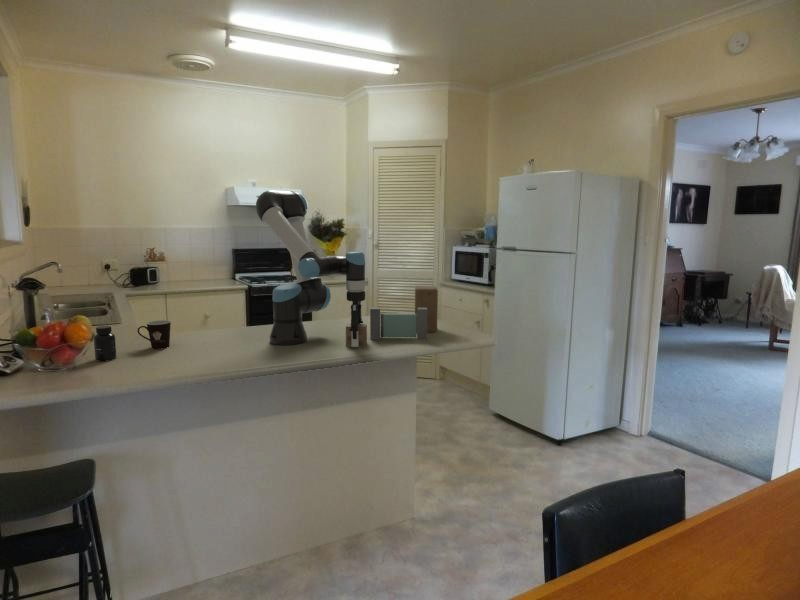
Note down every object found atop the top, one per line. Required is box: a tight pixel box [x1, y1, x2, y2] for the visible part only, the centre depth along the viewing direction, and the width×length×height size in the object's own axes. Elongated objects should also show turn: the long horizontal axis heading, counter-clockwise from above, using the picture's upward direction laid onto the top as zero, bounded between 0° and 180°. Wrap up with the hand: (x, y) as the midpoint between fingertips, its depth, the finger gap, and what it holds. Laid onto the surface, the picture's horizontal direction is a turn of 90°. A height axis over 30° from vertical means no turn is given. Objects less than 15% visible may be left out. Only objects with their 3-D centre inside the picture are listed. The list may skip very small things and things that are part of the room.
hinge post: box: [369, 306, 381, 340], centre depth 218 cm, size 4×4×13 cm
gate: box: [380, 313, 417, 338], centre depth 218 cm, size 15×1×10 cm, turn 89°
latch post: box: [416, 308, 428, 340], centre depth 218 cm, size 4×4×13 cm
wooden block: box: [414, 285, 439, 334], centre depth 232 cm, size 10×10×20 cm
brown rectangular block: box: [345, 323, 368, 347], centre depth 208 cm, size 8×5×8 cm, turn 89°
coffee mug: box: [137, 319, 172, 350], centre depth 203 cm, size 12×9×10 cm
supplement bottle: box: [93, 325, 117, 362], centre depth 186 cm, size 7×7×12 cm
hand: (356, 342), depth 209 cm, fingers open, 12 cm apart
